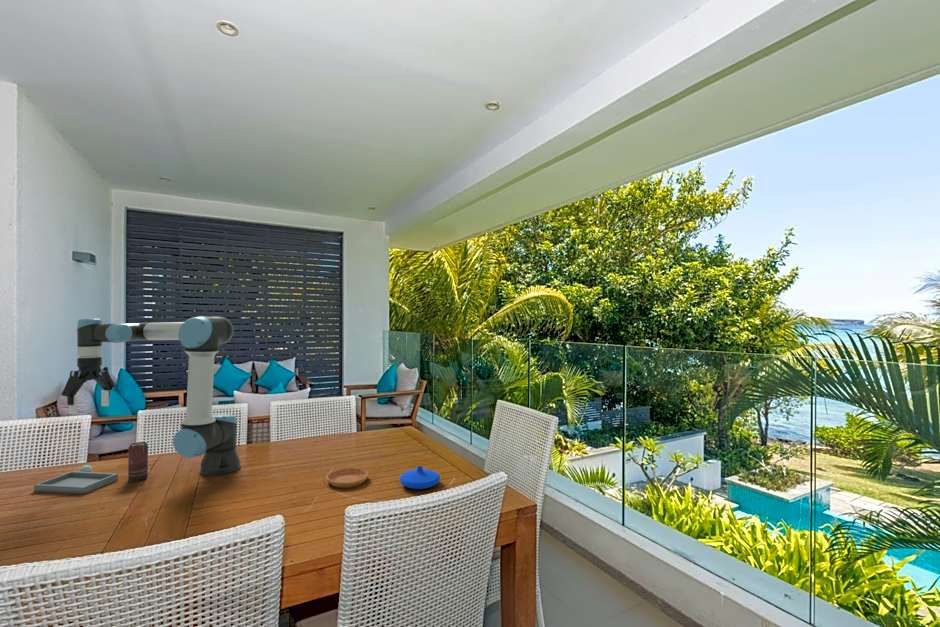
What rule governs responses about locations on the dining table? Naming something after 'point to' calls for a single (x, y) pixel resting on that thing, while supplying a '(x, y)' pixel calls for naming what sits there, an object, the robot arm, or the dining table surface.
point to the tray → (76, 482)
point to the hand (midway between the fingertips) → (89, 409)
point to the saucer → (347, 477)
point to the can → (138, 461)
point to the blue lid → (419, 478)
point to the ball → (86, 468)
